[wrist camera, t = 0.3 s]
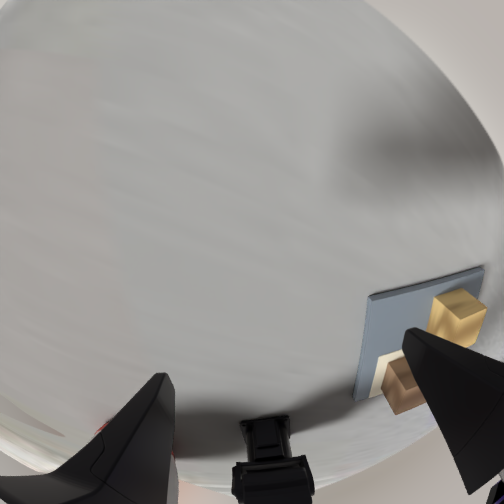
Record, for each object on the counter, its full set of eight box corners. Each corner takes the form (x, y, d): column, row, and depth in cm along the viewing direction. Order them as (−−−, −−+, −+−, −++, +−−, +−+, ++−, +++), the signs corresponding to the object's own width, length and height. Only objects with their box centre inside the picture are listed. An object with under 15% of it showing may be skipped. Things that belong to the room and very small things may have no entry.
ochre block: (452, 321, 27) (474, 343, 22) (425, 332, 26) (447, 356, 22) (461, 287, 25) (487, 307, 20) (434, 296, 25) (460, 320, 20)
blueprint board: (451, 359, 31) (455, 363, 30) (352, 396, 31) (354, 402, 30) (479, 266, 25) (485, 270, 24) (368, 296, 25) (372, 301, 24)
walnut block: (411, 377, 29) (427, 401, 24) (380, 388, 29) (395, 415, 24) (420, 351, 27) (439, 376, 23) (387, 362, 27) (405, 390, 23)
